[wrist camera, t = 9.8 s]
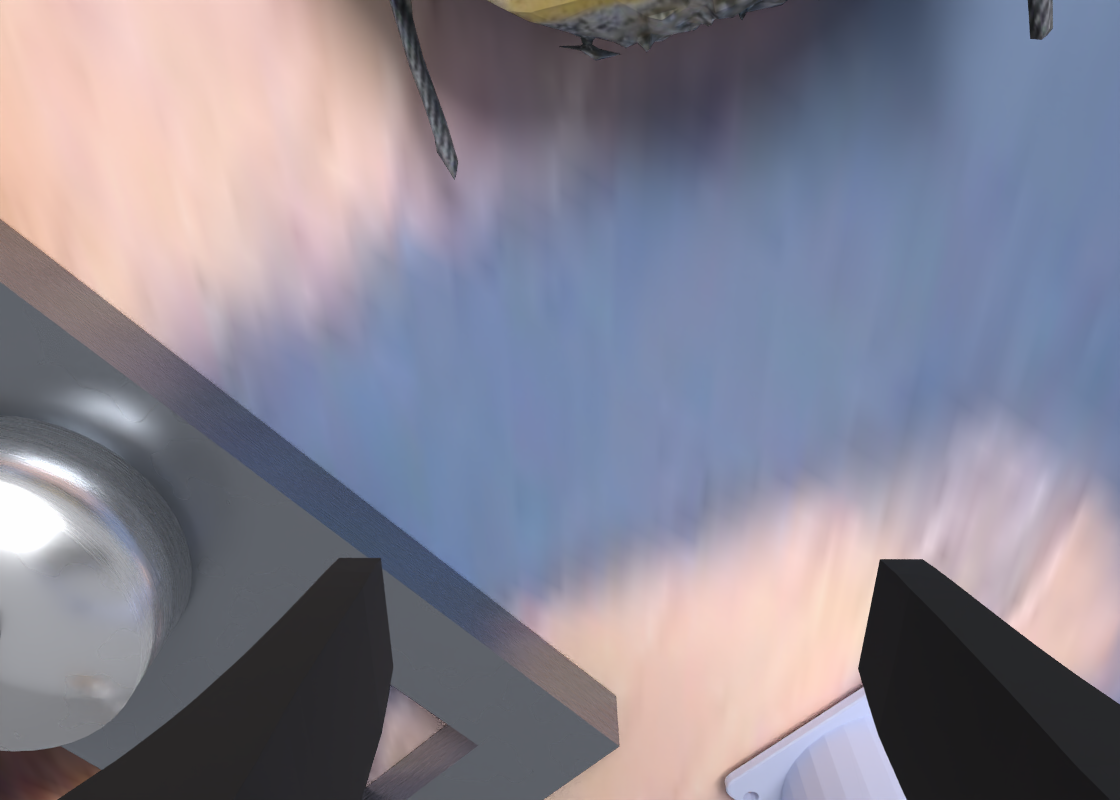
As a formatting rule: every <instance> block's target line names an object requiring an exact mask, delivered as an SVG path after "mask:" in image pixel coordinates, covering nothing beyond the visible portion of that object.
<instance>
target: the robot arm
mask: <svg viewBox="0 0 1120 800" xmlns="http://www.w3.org/2000/svg"><path fill="white" fill-rule="evenodd" d="M858 670H859V673H860V677H861V680H862V684H863V687H862V688H861V689H859V690H858V691H856V692H855V693H853V694H851V695H850V696H848V697H847V698H845V699H844V700H842V701H841V702H839V703H838V704H836V705H835V706H833V707H831V708H830V709H828V710H827V711H825V712H824V713H822V714H821V715H819V716H818V717H816V718H814V719H813V720H811V721H810V722H808V723H807V724H805V725H804V726H802V727H801V728H799V729H798V730H796V731H794V732H793V733H791V734H790V735H788V736H787V737H785V738H784V739H782V740H781V741H779V742H777V743H776V744H774V745H773V746H771V747H770V748H768V749H767V750H765V751H764V752H762V753H760V754H759V755H757V756H756V757H754V758H753V759H751V760H750V761H748V762H747V763H745V764H744V765H742V766H740V767H739V768H737V769H736V770H734V771H733V772H731V773H730V774H729V775H728V776H727V777H726V778H725V786H726V791H727V793H728V795H729V796H730V797H732V798H733V799H734V800H1120V704H1118V703H1117V702H1115V701H1114V700H1112V699H1111V698H1109V697H1108V696H1107V695H1105V694H1104V693H1102V692H1101V691H1099V690H1098V689H1096V688H1095V687H1093V686H1092V685H1090V684H1089V683H1087V682H1086V681H1085V680H1083V679H1082V678H1080V677H1079V676H1077V675H1076V674H1075V673H1073V672H1072V671H1070V670H1069V669H1068V668H1066V667H1065V666H1063V665H1062V664H1061V663H1059V662H1058V661H1056V660H1055V659H1054V658H1052V657H1051V656H1050V655H1048V654H1047V653H1046V652H1044V651H1043V650H1041V649H1040V648H1039V647H1037V646H1036V645H1035V644H1033V643H1032V642H1031V641H1029V640H1028V639H1027V638H1025V637H1024V636H1023V635H1021V634H1020V633H1019V632H1018V631H1016V630H1015V629H1014V628H1012V627H1011V626H1010V625H1008V624H1007V623H1006V622H1004V621H1003V620H1002V619H1001V618H999V617H998V616H997V615H995V614H994V613H993V612H992V611H990V610H989V609H988V608H986V607H985V606H984V605H983V604H981V603H980V602H979V601H977V600H976V599H975V598H974V597H972V596H971V595H970V594H968V593H967V592H966V591H965V590H963V589H962V588H961V587H959V586H958V585H957V584H955V583H954V582H953V581H952V580H950V579H949V578H948V577H946V576H945V575H944V574H942V573H941V572H940V571H938V570H937V569H936V568H934V567H933V566H931V565H930V564H928V563H927V562H926V561H924V560H923V559H880V562H879V567H878V572H877V577H876V582H875V587H874V592H873V597H872V602H871V607H870V612H869V617H868V622H867V627H866V632H865V637H864V642H863V647H862V652H861V657H860V662H859V667H858ZM392 673H393V658H392V649H391V641H390V632H389V624H388V615H387V606H386V598H385V589H384V580H383V572H382V563H381V558H338V559H337V560H336V561H335V562H334V563H333V564H332V565H331V566H330V567H329V568H328V569H327V570H326V571H325V572H324V573H323V574H322V575H321V576H320V577H319V578H318V579H317V581H316V582H315V583H314V584H313V585H312V586H311V587H310V588H309V589H308V590H307V591H306V592H305V593H304V594H303V595H302V596H301V597H300V598H299V600H298V601H297V602H296V603H295V604H294V605H293V606H292V607H291V608H290V609H289V610H288V611H287V612H286V613H285V614H284V615H283V616H282V617H281V618H280V619H279V620H278V621H277V622H276V623H275V624H274V625H273V626H272V627H271V628H270V629H269V630H268V631H267V632H266V633H265V634H264V635H263V636H262V637H261V638H260V639H259V640H258V641H257V642H256V643H255V644H254V645H253V646H252V647H251V648H250V649H249V650H248V651H247V652H246V653H245V654H244V655H243V656H242V657H241V658H240V659H239V660H238V661H236V662H235V663H234V664H233V665H232V666H231V667H230V668H229V669H228V670H227V671H225V672H224V673H223V674H222V675H221V676H220V677H219V678H218V679H217V680H215V681H214V682H213V683H212V684H211V685H210V686H209V687H208V688H207V689H205V690H204V691H203V692H202V693H201V694H200V695H199V696H198V697H197V698H195V699H194V700H193V701H192V702H191V703H190V704H188V705H187V706H186V707H185V708H184V709H182V710H181V711H180V712H179V713H178V714H176V715H175V716H174V717H173V718H171V719H170V720H169V721H168V722H166V723H165V724H164V725H163V726H161V727H160V728H159V729H157V730H156V731H155V732H153V733H152V734H151V735H149V736H148V737H147V738H145V739H144V740H143V741H142V742H140V743H139V744H138V745H136V746H135V747H134V748H132V749H131V750H130V751H128V752H127V753H126V754H124V755H123V756H121V757H120V758H119V759H117V760H116V761H114V762H113V763H111V764H110V765H108V766H107V767H105V768H104V769H102V770H101V771H99V772H98V773H96V774H95V775H94V776H92V777H91V778H89V779H88V780H86V781H85V782H83V783H82V784H80V785H79V786H77V787H76V788H74V789H73V790H71V791H70V792H68V793H67V794H65V795H64V796H62V797H61V798H59V799H58V800H361V799H362V796H363V793H364V790H365V786H366V783H367V780H368V776H369V773H370V770H371V767H372V763H373V760H374V757H375V753H376V750H377V747H378V743H379V740H380V737H381V733H382V728H383V723H384V718H385V712H386V707H387V702H388V696H389V690H390V684H391V678H392Z"/></svg>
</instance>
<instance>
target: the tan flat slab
mask: <svg viewBox="0 0 1120 800" xmlns="http://www.w3.org/2000/svg"><path fill="white" fill-rule="evenodd" d="M389 1H390V4H391V7H392V11H393V14H394V17H395V21H396V24H397V27H398V30H399V34H400V37H401V40H402V44H403V47H404V50H405V53H406V57H407V60H408V63H409V67H410V69H411V72H412V74H413V77H414V80H415V82H416V85H417V88H418V90H419V93H420V96H421V98H422V101H423V104H424V107H425V110H426V113H427V116H428V119H429V122H430V125H431V128H432V131H433V134H434V137H435V143H436V149H437V153H438V154H439V156H440V157H441V159H442V161H443V162H444V164H445V165H446V167H447V169H448V170H449V172H450V173H451V175H452V176H453V178H454V180H455V177H456V172H457V166H458V160H457V156H456V153H455V150H454V146H453V143H452V139H451V136H450V133H449V129H448V126H447V122H446V120H445V117H444V114H443V111H442V108H441V106H440V103H439V100H438V97H437V94H436V91H435V89H434V86H433V83H432V80H431V77H430V75H429V72H428V69H427V66H426V63H425V61H424V58H423V55H422V51H421V47H420V43H419V40H418V36H417V32H416V28H415V24H414V21H413V16H412V4H411V0H389ZM487 1H489V2H491V3H493V4H495V5H497V6H499V7H501V8H503V9H505V10H506V11H508V12H510V13H513V14H515V15H517V16H519V17H521V18H523V19H525V20H527V21H529V22H533V23H537V24H540V25H544V26H547V27H551V28H555V29H558V30H562V31H565V32H569V33H571V34H574V35H576V36H578V37H581V40H582V43H583V44H582V45H580V46H559V47H564V48H571V49H577V50H580V51H582V52H583V53H585V54H586V55H588V56H589V57H591V58H593V59H594V60H600V59H604V58H608V57H612V56H616V55H620V54H618V53H614V52H610V51H606V50H602V49H598V48H597V47H595V46H593V45H592V43H593V39H595V38H599V39H604V40H607V41H613V42H615V43H617V44H619V45H621V46H623V47H625V48H627V47H629V46H631V45H633V44H635V43H638V44H639V45H640V46H641V47H642V48H643V49H644V50H645V51H646V52H648V50H649V49H650V48H651V46H652V44H653V43H654V42H655V41H664V40H665V39H667V38H668V37H670V36H671V35H672V34H677V33H682V32H688V31H691V30H693V31H694V30H695V29H697V28H698V27H699V25H700V24H705V25H707V26H709V25H710V26H711V25H712V23H713V21H714V19H722V18H733V17H734V16H736V15H738V14H739V17H740V19H741V20H743V18H744V16H745V14H746V12H750V11H755V10H760V9H765V8H770V7H775V6H779V5H783V4H784V3H785V2H786V1H787V0H487ZM1028 9H1029V25H1030V39H1039V40H1042V39H1043V38H1044V37H1045V36H1047V35H1048V34H1049V32H1050V31H1051V30H1052V29H1053V0H1028Z"/></svg>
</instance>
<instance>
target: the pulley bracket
mask: <svg viewBox="0 0 1120 800" xmlns="http://www.w3.org/2000/svg"><path fill="white" fill-rule="evenodd" d="M338 558H381V563H382V572H383V580H384V589H385V598H386V606H387V615H388V624H389V632H390V641H391V649H392V658H393V673H392V678H391V685H392V686H394V687H395V688H396V689H398V690H399V691H401V692H402V693H404V694H405V695H406V696H408V697H409V698H411V699H412V700H414V701H415V702H416V703H418V704H419V705H421V706H422V707H424V708H425V709H426V710H428V711H429V712H431V713H432V714H434V715H435V716H436V717H438V718H439V719H441V720H442V721H444V722H445V723H446V724H447V725H446V726H445V727H443V728H442V729H441V730H439V731H438V732H437V733H436V734H434V735H433V736H432V737H430V738H429V739H428V740H427V741H425V742H424V743H423V744H421V745H420V746H419V747H418V748H416V749H415V750H414V751H412V752H411V753H410V754H409V755H407V756H406V757H405V758H403V759H402V760H401V761H400V762H398V763H397V764H396V765H394V766H393V767H392V768H391V769H389V770H388V771H387V772H386V773H384V774H383V775H382V776H380V777H379V778H378V779H377V780H375V781H374V782H373V783H371V784H370V785H369V786H368V787H365V790H364V793H363V796H362V799H361V800H543V799H545V798H546V797H548V796H549V795H551V794H552V793H553V792H555V791H556V790H558V789H559V788H561V787H562V786H563V785H565V784H566V783H568V782H569V781H571V780H572V779H573V778H575V777H576V776H578V775H579V774H581V773H582V772H583V771H585V770H586V769H588V768H589V767H591V766H592V765H593V764H595V763H596V762H598V761H599V760H601V759H602V758H603V757H605V756H606V755H608V754H609V753H611V752H612V751H613V750H615V749H616V748H618V747H619V733H618V719H617V705H616V696H615V695H614V694H612V693H611V692H610V691H609V690H607V689H606V688H605V687H603V686H602V685H601V684H600V683H598V682H597V681H596V680H594V679H593V678H592V677H591V676H589V675H588V674H587V673H585V672H584V671H583V670H582V669H580V668H579V667H578V666H576V665H575V664H574V663H572V662H571V661H570V660H569V659H567V658H566V657H565V656H563V655H562V654H561V653H560V652H558V651H557V650H556V649H554V648H553V647H552V646H551V645H549V644H548V643H547V642H545V641H544V640H543V639H541V638H540V637H539V636H538V635H536V634H535V633H534V632H532V631H531V630H530V629H529V628H527V627H526V626H525V625H523V624H522V623H521V622H520V621H518V620H517V619H516V618H514V617H513V616H512V615H511V614H509V613H508V612H507V611H505V610H504V609H503V608H501V607H500V606H499V605H498V604H496V603H495V602H494V601H492V600H491V599H490V598H489V597H487V596H486V595H485V594H483V593H482V592H481V591H480V590H478V589H477V588H476V587H474V586H473V585H472V584H471V583H469V582H468V581H467V580H465V579H464V578H463V577H461V576H460V575H459V574H458V573H456V572H455V571H454V570H452V569H451V568H450V567H449V566H447V565H446V564H445V563H443V562H442V561H441V560H440V559H438V558H437V557H436V556H434V555H433V554H432V553H430V552H429V551H428V550H427V549H425V548H424V547H423V546H421V545H420V544H419V543H418V542H416V541H415V540H414V539H412V538H411V537H410V536H409V535H407V534H406V533H405V532H403V531H402V530H401V529H400V528H398V527H397V526H396V525H394V524H393V523H392V522H390V521H389V520H388V519H387V518H385V517H384V516H383V515H381V514H380V513H379V512H378V511H376V510H375V509H374V508H372V507H371V506H370V505H369V504H367V503H366V502H365V501H363V500H362V499H361V498H360V497H358V496H357V495H356V494H354V493H353V492H352V491H350V490H349V489H348V488H347V487H345V486H344V485H343V484H341V483H340V482H339V481H338V480H336V479H335V478H334V477H332V476H331V475H330V474H329V473H327V472H326V471H325V470H323V469H322V468H321V467H319V466H318V465H317V464H316V463H314V462H313V461H312V460H310V459H309V458H308V457H307V456H305V455H304V454H303V453H301V452H300V451H299V450H298V449H296V448H295V447H294V446H292V445H291V444H290V443H289V442H287V441H286V440H285V439H283V438H282V437H281V436H279V435H278V434H277V433H276V432H274V431H273V430H272V429H270V428H269V427H268V426H267V425H265V424H264V423H263V422H261V421H260V420H259V419H258V418H256V417H255V416H254V415H252V414H251V413H250V412H249V411H247V410H246V409H245V408H243V407H242V406H241V405H239V404H238V403H237V402H236V401H234V400H233V399H232V398H230V397H229V396H228V395H227V394H225V393H224V392H223V391H221V390H220V389H219V388H218V387H216V386H215V385H214V384H212V383H211V382H210V381H208V380H207V379H206V378H205V377H203V376H202V375H201V374H199V373H198V372H197V371H196V370H194V369H193V368H192V367H190V366H189V365H188V364H187V363H185V362H184V361H183V360H181V359H180V358H179V357H178V356H176V355H175V354H174V353H172V352H171V351H170V350H168V349H167V348H166V347H165V346H163V345H162V344H161V343H159V342H158V341H157V340H156V339H154V338H153V337H152V336H150V335H149V334H148V333H147V332H145V331H144V330H143V329H141V328H140V327H139V326H138V325H136V324H135V323H134V322H132V321H131V320H130V319H128V318H127V317H126V316H125V315H123V314H122V313H121V312H119V311H118V310H117V309H116V308H114V307H113V306H112V305H110V304H109V303H108V302H107V301H105V300H104V299H103V298H101V297H100V296H99V295H97V294H96V293H95V292H94V291H92V290H91V289H90V288H88V287H87V286H86V285H85V284H83V283H82V282H81V281H79V280H78V279H77V278H76V277H74V276H73V275H72V274H70V273H69V272H68V271H67V270H65V269H64V268H63V267H61V266H60V265H59V264H57V263H56V262H55V261H54V260H52V259H51V258H50V257H48V256H47V255H46V254H45V253H43V252H42V251H41V250H39V249H38V248H37V247H36V246H34V245H33V244H32V243H30V242H29V241H28V240H27V239H25V238H24V237H23V236H21V235H20V234H19V233H17V232H16V231H15V230H14V229H12V228H11V227H10V226H8V225H7V224H6V223H5V222H3V221H2V220H1V219H0V751H30V750H40V749H47V748H53V747H57V746H62V747H63V748H65V749H67V750H68V751H70V752H72V753H74V754H75V755H77V756H79V757H81V758H82V759H84V760H86V761H87V762H89V763H91V764H93V765H94V766H96V767H98V768H99V769H101V770H102V769H104V768H105V767H107V766H108V765H110V764H111V763H113V762H114V761H116V760H117V759H119V758H120V757H121V756H123V755H124V754H126V753H127V752H128V751H130V750H131V749H132V748H134V747H135V746H136V745H138V744H139V743H140V742H142V741H143V740H144V739H145V738H147V737H148V736H149V735H151V734H152V733H153V732H155V731H156V730H157V729H159V728H160V727H161V726H163V725H164V724H165V723H166V722H168V721H169V720H170V719H171V718H173V717H174V716H175V715H176V714H178V713H179V712H180V711H181V710H182V709H184V708H185V707H186V706H187V705H188V704H190V703H191V702H192V701H193V700H194V699H195V698H197V697H198V696H199V695H200V694H201V693H202V692H203V691H204V690H205V689H207V688H208V687H209V686H210V685H211V684H212V683H213V682H214V681H215V680H217V679H218V678H219V677H220V676H221V675H222V674H223V673H224V672H225V671H227V670H228V669H229V668H230V667H231V666H232V665H233V664H234V663H235V662H236V661H238V660H239V659H240V658H241V657H242V656H243V655H244V654H245V653H246V652H247V651H248V650H249V649H250V648H251V647H252V646H253V645H254V644H255V643H256V642H257V641H258V640H259V639H260V638H261V637H262V636H263V635H264V634H265V633H266V632H267V631H268V630H269V629H270V628H271V627H272V626H273V625H274V624H275V623H276V622H277V621H278V620H279V619H280V618H281V617H282V616H283V615H284V614H285V613H286V612H287V611H288V610H289V609H290V608H291V607H292V606H293V605H294V604H295V603H296V602H297V601H298V600H299V598H300V597H301V596H302V595H303V594H304V593H305V592H306V591H307V590H308V589H309V588H310V587H311V586H312V585H313V584H314V583H315V582H316V581H317V579H318V578H319V577H320V576H321V575H322V574H323V573H324V572H325V571H326V570H327V569H328V568H329V567H330V566H331V565H332V564H333V563H334V562H335V561H336V560H337V559H338Z"/></svg>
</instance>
